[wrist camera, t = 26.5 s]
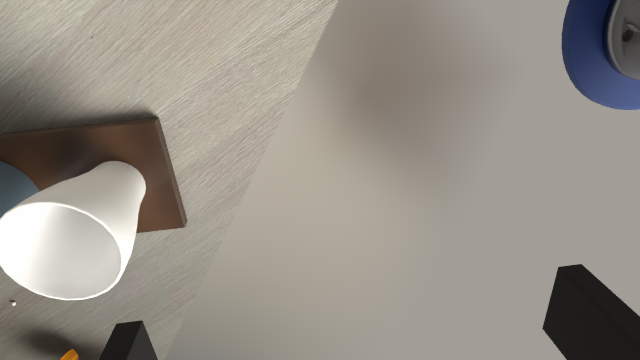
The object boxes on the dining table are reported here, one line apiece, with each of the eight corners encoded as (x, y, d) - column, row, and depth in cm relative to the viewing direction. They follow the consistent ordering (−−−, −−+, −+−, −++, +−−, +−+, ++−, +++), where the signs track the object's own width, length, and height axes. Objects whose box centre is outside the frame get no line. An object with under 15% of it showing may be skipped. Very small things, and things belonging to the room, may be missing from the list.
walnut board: (158, 117, 43) (155, 121, 42) (187, 221, 50) (185, 227, 48) (-187, 152, 41) (-202, 157, 40) (-111, 255, 48) (-123, 263, 46)
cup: (116, 123, 42) (50, 177, 30) (184, 191, 46) (150, 262, 34) (50, 176, 43) (-38, 246, 31) (121, 236, 48) (68, 318, 36)
